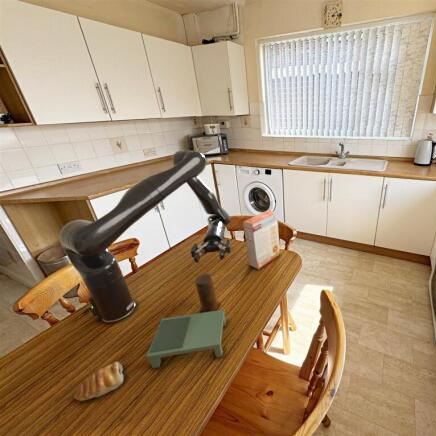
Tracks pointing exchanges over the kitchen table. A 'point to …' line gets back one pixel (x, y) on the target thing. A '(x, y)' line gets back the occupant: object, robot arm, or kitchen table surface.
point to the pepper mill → (206, 293)
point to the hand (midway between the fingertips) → (208, 259)
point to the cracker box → (262, 238)
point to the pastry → (100, 382)
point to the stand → (187, 335)
